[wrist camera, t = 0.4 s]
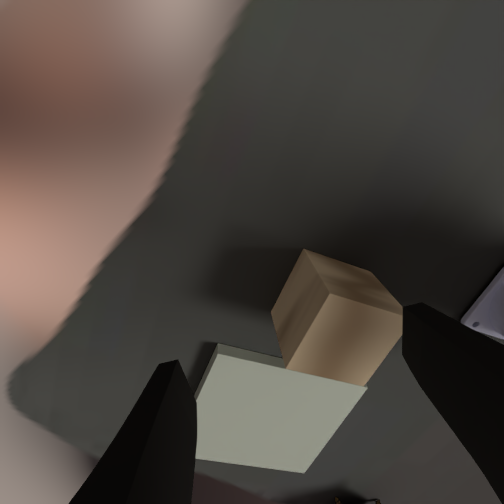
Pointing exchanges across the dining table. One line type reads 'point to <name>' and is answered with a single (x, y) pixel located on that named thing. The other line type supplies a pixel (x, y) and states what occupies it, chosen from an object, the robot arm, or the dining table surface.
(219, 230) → the dining table surface
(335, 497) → the game die
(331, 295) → the maple block
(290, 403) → the sage tile
